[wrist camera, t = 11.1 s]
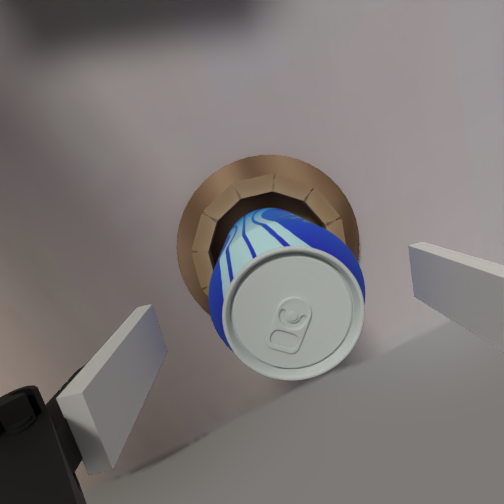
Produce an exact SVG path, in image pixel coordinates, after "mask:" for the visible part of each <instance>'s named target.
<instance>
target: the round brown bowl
mask: <svg viewBox="0 0 504 504" xmlns="http://www.w3.org/2000/svg"><path fill="white" fill-rule="evenodd" d="M262 208H277V209H282V210H285V211H288V212H290V213H292V214H294V215H296V216H298V217H301V218H303V219H305V220H307V221H309V222H311V223H313V224H316V225H318V226H320V227H322V228H324V229H326V230H328V231H329V232H331V233H332V234H334V235H335V236H337V237H338V238H339V239H340V240H341V241H342V242H343V243H344V244H345V245H346V246H347V247H348V248H349V249H350V251H351V252H352V253H353V255H354V256H355V258H356V260H358V254H359V234H358V227H357V223H356V218H355V215H354V213H353V210H352V208H351V205H350V204H349V202H348V200H347V198H346V196H345V195H344V194H343V192H342V191H341V190H340V188H339V187H338V186H337V185H336V184H335V183H334V182H333V181H332V180H331V179H330V178H329V177H328V176H327V175H326V174H324V173H323V172H322V171H320V170H319V169H317V168H315V167H314V166H312V165H310V164H308V163H305V162H303V161H300V160H298V159H294V158H290V157H286V156H278V155H259V156H253V157H248V158H244V159H241V160H238V161H235V162H233V163H231V164H229V165H227V166H224V167H223V168H221V169H220V170H218V171H217V172H215V173H214V174H212V175H211V176H210V177H209V178H208V179H207V180H205V181H204V182H203V183H202V185H201V186H200V187H199V188H198V189H197V190H196V191H195V193H194V194H193V196H192V197H191V199H190V200H189V202H188V204H187V206H186V208H185V210H184V212H183V215H182V218H181V221H180V225H179V230H178V235H177V255H178V262H179V267H180V271H181V274H182V277H183V279H184V282H185V284H186V286H187V288H188V290H189V291H190V293H191V294H192V296H193V297H194V299H195V300H196V301H197V302H198V304H199V305H200V306H201V307H202V308H203V309H204V310H205V311H206V312H207V313H209V314H210V309H209V299H208V297H209V285H210V280H211V276H212V273H213V270H214V268H215V265H216V263H217V261H218V258H219V256H220V253H221V251H222V249H223V246H224V244H225V241H226V239H227V236H228V234H229V232H230V230H231V229H232V227H233V226H234V225H235V223H236V222H237V221H238V220H239V219H241V218H242V217H243V216H245V215H246V214H248V213H250V212H252V211H255V210H258V209H262ZM210 315H211V314H210Z"/></svg>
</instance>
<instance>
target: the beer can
mask: <svg viewBox="0 0 504 504" xmlns="http://www.w3.org/2000/svg"><path fill="white" fill-rule="evenodd" d="M208 299H209V309H210V314H211V318H212V321H213V324H214V326H215V328H216V330H217V332H218V334H219V336H220V337H221V339H222V340H223V341H224V343H225V344H226V345H227V346H228V347H229V348H230V349H231V350H232V351H233V352H234V353H235V354H236V356H237V357H238V358H239V359H240V360H241V361H242V362H243V363H244V364H245V365H246V366H248V367H249V368H251V369H252V370H254V371H255V372H257V373H259V374H261V375H264V376H266V377H269V378H273V379H277V380H286V381H297V380H305V379H309V378H313V377H316V376H319V375H321V374H323V373H325V372H327V371H329V370H331V369H332V368H334V367H335V366H337V365H338V364H339V363H340V362H342V361H343V360H344V359H345V358H346V357H347V355H348V354H349V353H350V352H351V351H352V349H353V348H354V346H355V344H356V343H357V341H358V339H359V337H360V334H361V331H362V328H363V323H364V315H365V308H364V304H365V285H364V278H363V275H362V271H361V269H360V266H359V264H358V262H357V260H356V258H355V256H354V255H353V253H352V252H351V251H350V249H349V248H348V247H347V246H346V245H345V244H344V243H343V242H342V241H341V240H340V239H339V238H338V237H337V236H335V235H334V234H332V233H331V232H329V231H328V230H326V229H324V228H322V227H320V226H318V225H316V224H313V223H311V222H309V221H307V220H305V219H303V218H301V217H298V216H296V215H294V214H292V213H290V212H288V211H285V210H282V209H277V208H262V209H258V210H255V211H252V212H250V213H248V214H246V215H245V216H243V217H242V218H241V219H239V220H238V221H237V222H236V223H235V225H234V226H233V227H232V229H231V230H230V232H229V234H228V236H227V239H226V241H225V244H224V246H223V249H222V251H221V253H220V256H219V258H218V261H217V263H216V265H215V268H214V270H213V273H212V276H211V280H210V285H209V297H208Z"/></svg>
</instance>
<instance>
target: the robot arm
mask: <svg viewBox="0 0 504 504" xmlns="http://www.w3.org/2000/svg"><path fill="white" fill-rule="evenodd" d="M408 248H409V256H410V265H411V273H412V282H413V290H414V297H416V298H417V299H419V300H421V301H422V302H424V303H425V304H427V305H428V306H430V307H432V308H433V309H435V310H436V311H438V312H440V313H441V314H443V315H444V316H446V317H448V318H449V319H451V320H452V321H454V322H456V323H458V324H459V325H461V326H462V327H464V328H465V329H467V330H468V331H470V332H472V333H473V334H475V335H477V336H478V337H480V338H481V339H483V340H484V341H486V342H488V343H489V344H491V345H492V346H494V347H496V348H497V349H499V350H500V351H502V352H504V265H501V264H497V263H494V262H491V261H487V260H484V259H480V258H477V257H473V256H470V255H466V254H463V253H460V252H456V251H453V250H449V249H446V248H442V247H439V246H436V245H432V244H429V243H425V242H421V243H417V244H412V245H408ZM166 354H167V349H166V346H165V343H164V340H163V337H162V334H161V331H160V328H159V324H158V321H157V318H156V315H155V312H154V309H153V306H152V304H150V305H145V306H141V307H137V308H136V309H135V310H134V312H133V313H132V314H131V315H130V316H129V317H128V318H127V319H126V320H125V322H124V323H123V324H122V325H121V326H120V327H119V328H118V329H117V331H116V332H115V333H114V334H113V335H112V336H111V337H110V338H109V340H108V341H107V342H106V343H105V344H104V345H103V346H102V347H101V348H100V350H99V351H98V352H97V353H96V354H95V355H94V356H93V357H92V359H91V360H90V361H89V362H88V363H87V364H86V365H84V366H83V367H82V368H80V369H79V370H77V371H76V372H75V373H74V374H73V375H72V377H71V378H70V379H69V380H68V382H66V383H65V384H64V385H63V386H62V388H61V390H59V391H58V392H57V393H56V394H55V395H54V396H53V397H52V398H51V400H50V401H49V402H48V403H47V404H46V405H45V403H44V401H43V399H42V396H41V394H40V392H39V390H38V387H36V386H26V387H22V388H19V389H17V390H14V391H12V392H9V393H8V394H6V395H4V396H2V397H0V504H86V501H85V498H84V495H83V492H82V490H81V487H80V484H79V481H78V479H77V477H76V474H75V470H76V469H77V467H78V465H79V464H80V462H81V460H82V461H83V463H84V465H85V468H86V470H87V472H88V475H92V474H97V473H102V472H106V471H111V470H113V469H114V467H115V465H116V463H117V460H118V458H119V456H120V454H121V452H122V450H123V447H124V445H125V443H126V441H127V439H128V437H129V434H130V432H131V430H132V428H133V426H134V424H135V421H136V419H137V417H138V415H139V413H140V411H141V408H142V406H143V404H144V402H145V400H146V398H147V395H148V393H149V391H150V389H151V387H152V385H153V382H154V380H155V378H156V376H157V374H158V372H159V369H160V367H161V365H162V363H163V361H164V359H165V356H166Z"/></svg>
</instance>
